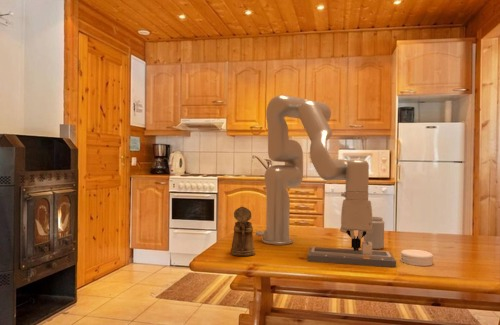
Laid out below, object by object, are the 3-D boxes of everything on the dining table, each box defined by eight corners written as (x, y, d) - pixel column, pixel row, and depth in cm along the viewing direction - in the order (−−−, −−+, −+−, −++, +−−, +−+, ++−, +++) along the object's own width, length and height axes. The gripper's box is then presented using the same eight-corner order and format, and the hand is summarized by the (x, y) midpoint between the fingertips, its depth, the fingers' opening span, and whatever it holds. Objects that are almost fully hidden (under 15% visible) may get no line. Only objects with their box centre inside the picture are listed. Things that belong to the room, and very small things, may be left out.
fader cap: (362, 255, 127) (362, 242, 127) (361, 252, 131) (362, 240, 131) (372, 256, 126) (372, 243, 126) (370, 253, 130) (371, 240, 130)
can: (385, 250, 144) (385, 219, 144) (364, 249, 145) (365, 218, 145) (382, 246, 151) (382, 216, 151) (362, 245, 153) (363, 215, 153)
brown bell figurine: (227, 259, 127) (228, 206, 127) (231, 250, 141) (232, 201, 140) (254, 260, 127) (255, 206, 127) (255, 250, 140) (256, 202, 140)
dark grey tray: (307, 261, 127) (307, 252, 127) (309, 252, 139) (309, 245, 139) (396, 267, 121) (396, 258, 121) (390, 258, 133) (390, 250, 133)
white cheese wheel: (406, 257, 135) (406, 247, 135) (436, 262, 129) (436, 252, 129) (396, 263, 127) (396, 252, 127) (428, 268, 121) (428, 257, 121)
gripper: (334, 196, 127) (333, 251, 127) (381, 198, 124) (380, 254, 124) (334, 194, 134) (333, 246, 135) (378, 196, 131) (377, 248, 131)
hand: (355, 249), depth 129 cm, fingers closed
